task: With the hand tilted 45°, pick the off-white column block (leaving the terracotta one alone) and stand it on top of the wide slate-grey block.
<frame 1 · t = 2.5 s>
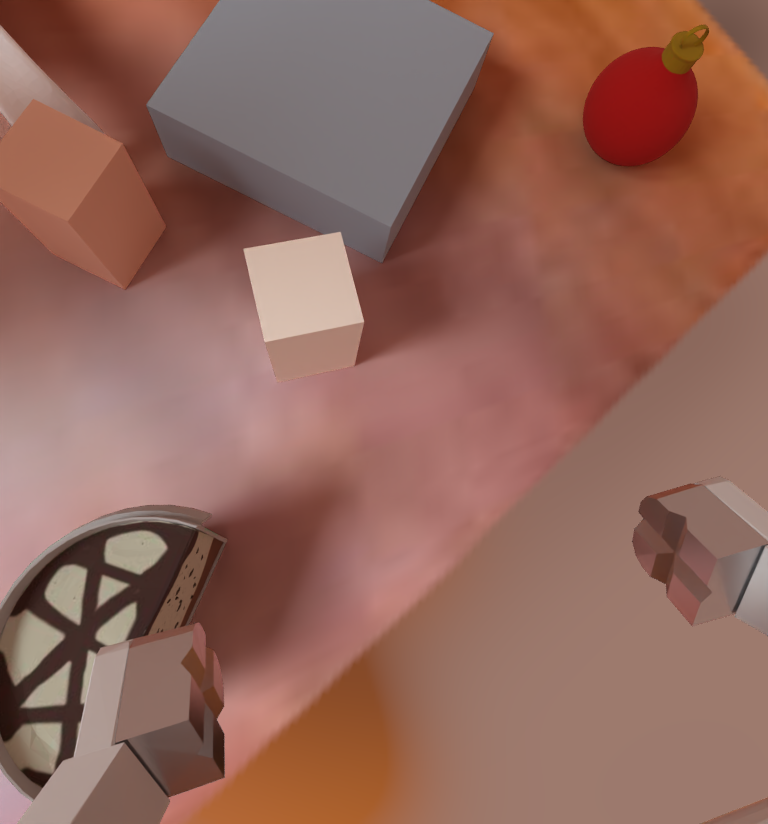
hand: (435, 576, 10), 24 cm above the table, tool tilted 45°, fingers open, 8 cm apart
terracotta column: (110, 240, 35), on the table
food container: (142, 597, 31), on the table
off-white column: (307, 337, 35), on the table
slate plinth block: (328, 124, 38), on the table
christmas ornament: (609, 146, 41), on the table
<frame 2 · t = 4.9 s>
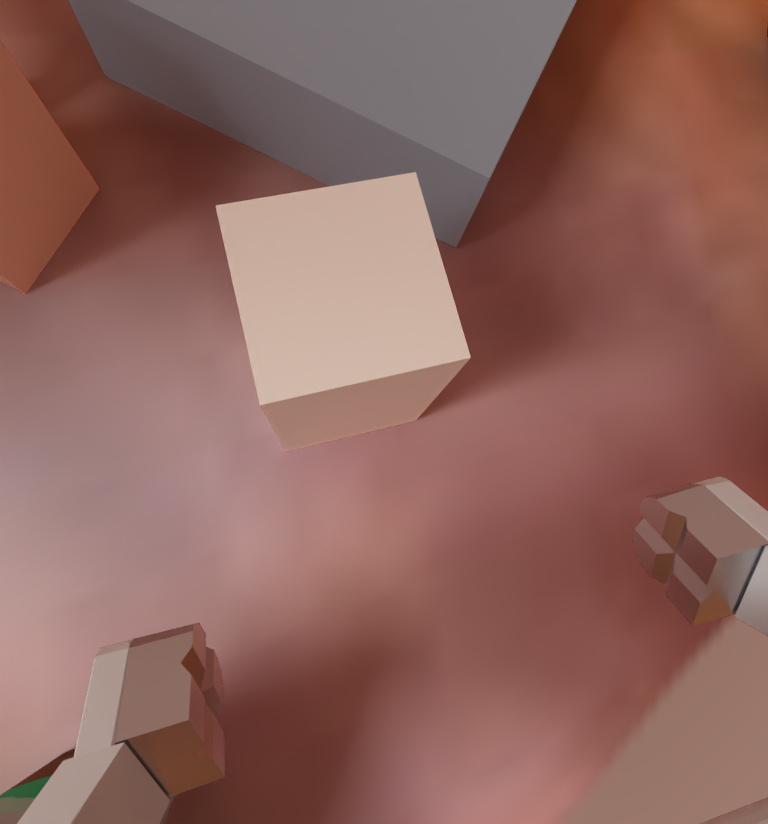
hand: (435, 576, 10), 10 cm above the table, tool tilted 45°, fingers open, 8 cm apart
terracotta column: (4, 211, 20), on the table
off-white column: (336, 373, 21), on the table
slate plinth block: (364, 31, 24), on the table
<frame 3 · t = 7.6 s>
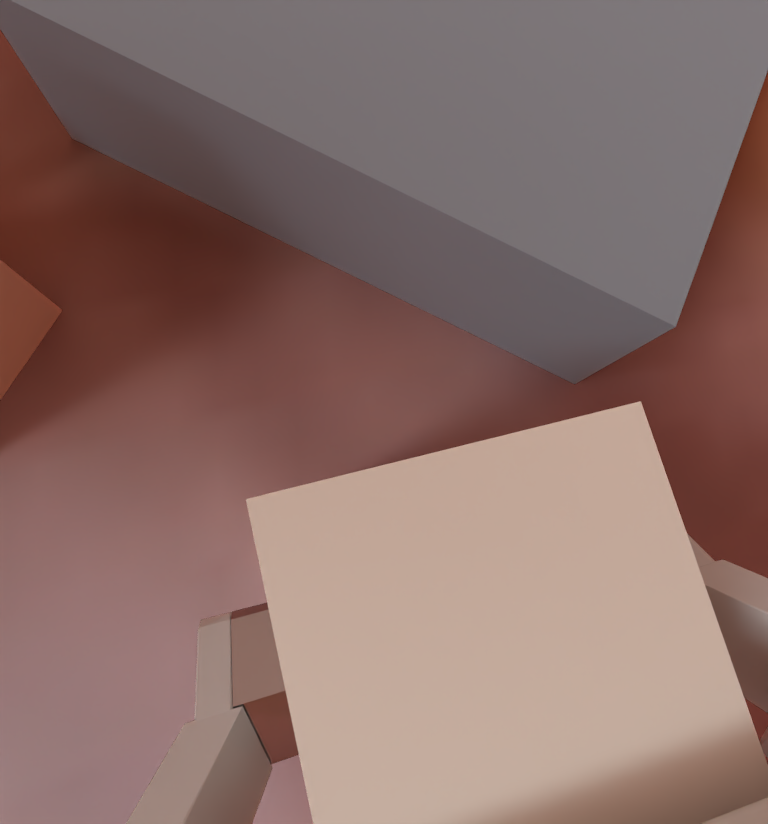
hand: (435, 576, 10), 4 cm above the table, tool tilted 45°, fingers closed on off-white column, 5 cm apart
off-white column: (408, 585, 14), on the table, touching gripper
slate plinth block: (434, 69, 18), on the table
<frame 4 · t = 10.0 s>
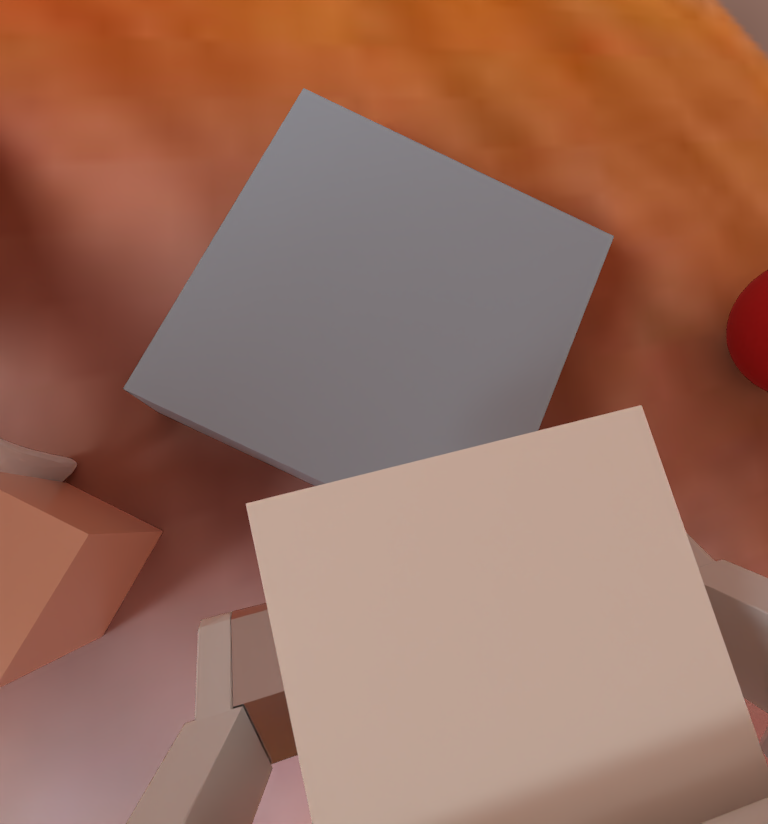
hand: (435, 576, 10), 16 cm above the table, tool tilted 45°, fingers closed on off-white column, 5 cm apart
terracotta column: (83, 557, 24), on the table
off-white column: (409, 587, 14), point 12 cm above the table, touching gripper
slate plinth block: (377, 343, 28), on the table
christmas ornament: (752, 351, 30), on the table
when the fingers open (11 cm above the table, at t = 12.7 s): off-white column drops 2 cm, resting on slate plinth block.
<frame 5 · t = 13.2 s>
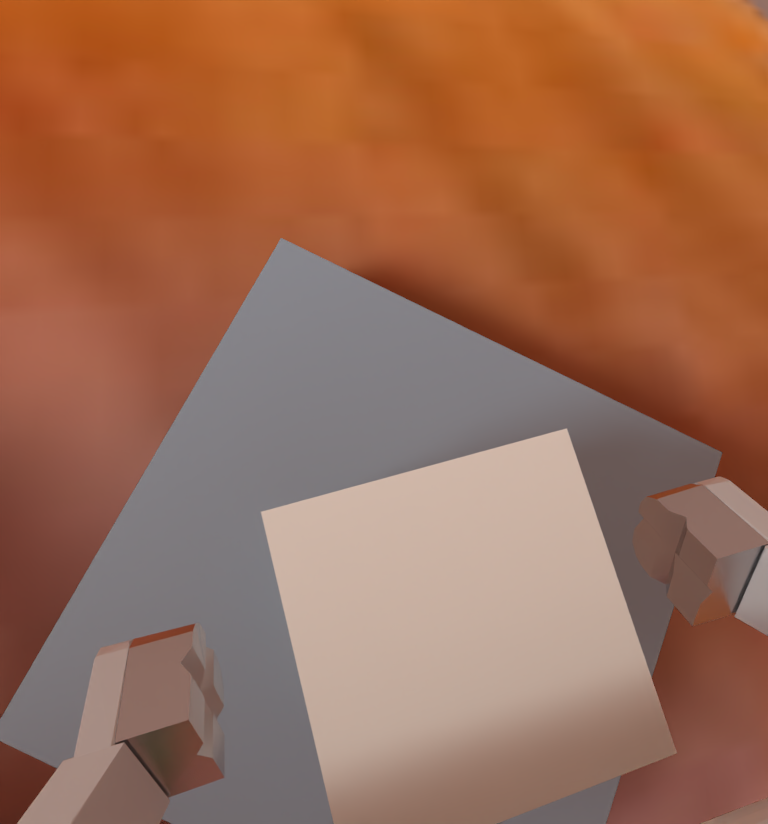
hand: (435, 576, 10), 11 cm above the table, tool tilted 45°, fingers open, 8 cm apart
off-white column: (397, 578, 16), point 4 cm above the table, touching slate plinth block
slate plinth block: (382, 565, 21), on the table, touching off-white column
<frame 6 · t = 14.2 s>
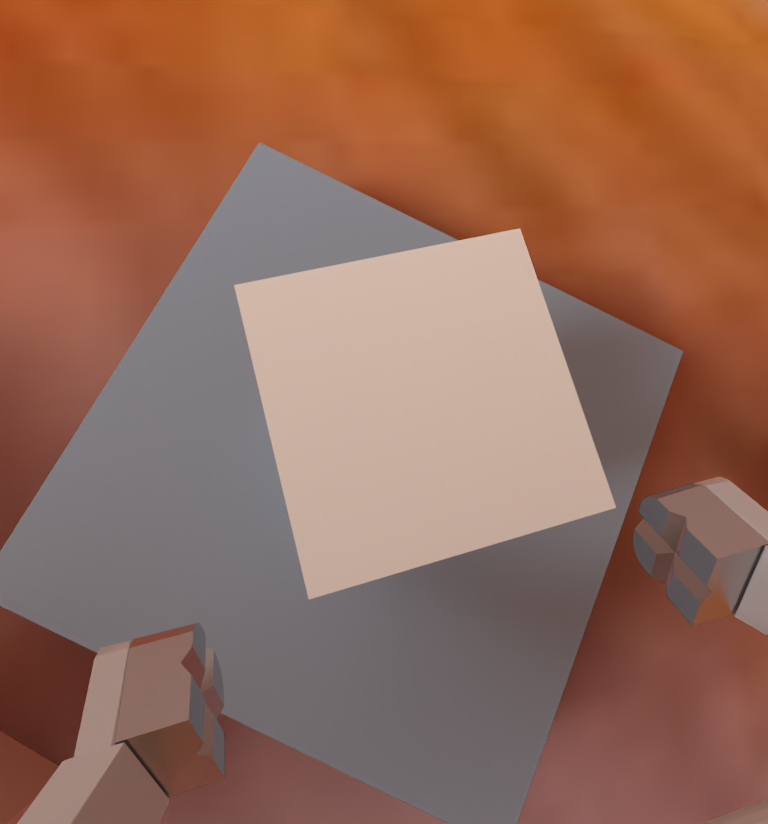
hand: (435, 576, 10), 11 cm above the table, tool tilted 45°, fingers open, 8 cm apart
off-white column: (375, 458, 16), point 4 cm above the table
slate plinth block: (359, 473, 21), on the table
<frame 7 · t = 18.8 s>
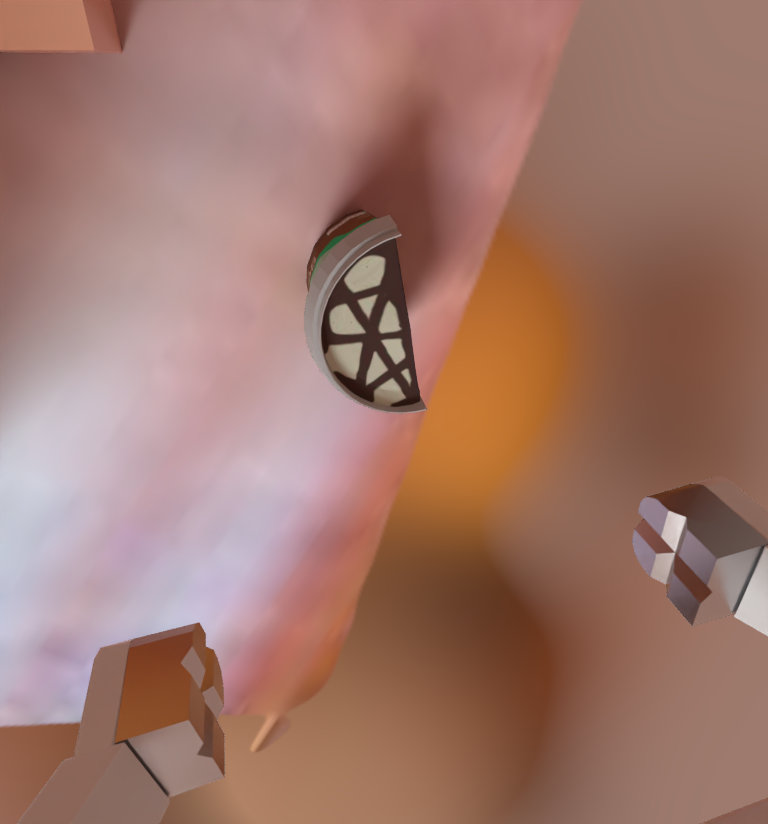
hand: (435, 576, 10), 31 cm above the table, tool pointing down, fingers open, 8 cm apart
food container: (333, 284, 39), on the table
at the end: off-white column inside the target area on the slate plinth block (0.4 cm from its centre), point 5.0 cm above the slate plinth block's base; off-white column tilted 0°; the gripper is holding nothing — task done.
